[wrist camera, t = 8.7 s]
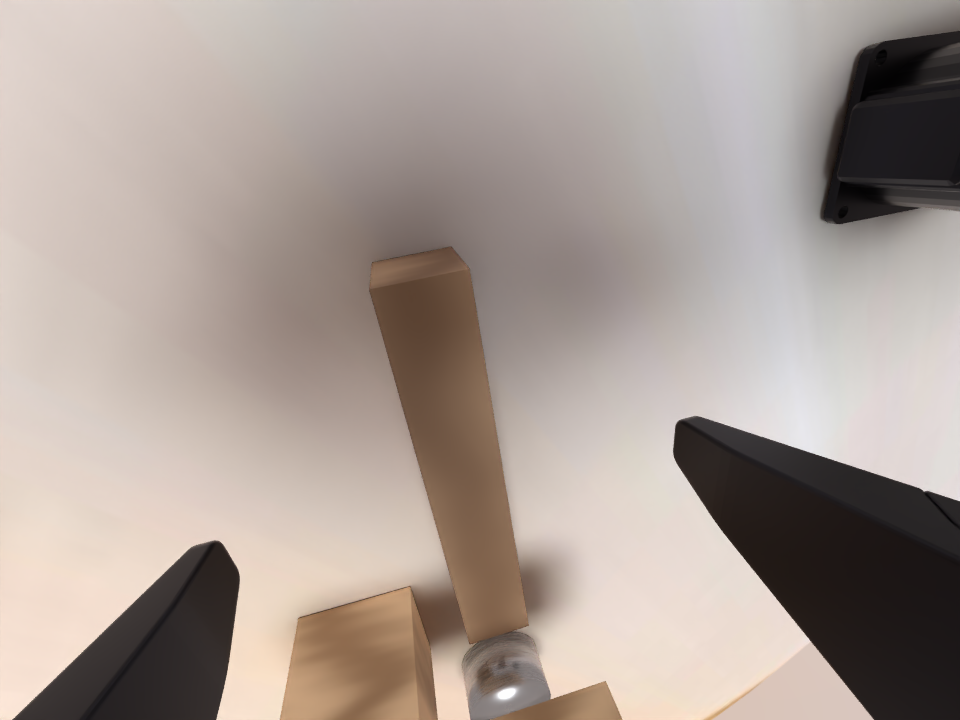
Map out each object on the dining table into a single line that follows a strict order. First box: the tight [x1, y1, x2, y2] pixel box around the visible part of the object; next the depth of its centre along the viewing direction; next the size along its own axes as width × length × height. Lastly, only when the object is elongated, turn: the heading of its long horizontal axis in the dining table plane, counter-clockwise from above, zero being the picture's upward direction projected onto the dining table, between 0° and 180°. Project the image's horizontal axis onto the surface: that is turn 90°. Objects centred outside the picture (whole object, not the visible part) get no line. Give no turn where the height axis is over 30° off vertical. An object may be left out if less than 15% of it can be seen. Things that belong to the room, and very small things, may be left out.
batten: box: [369, 247, 529, 644], centre depth 18 cm, size 3×18×4 cm, turn 8°
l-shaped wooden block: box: [280, 587, 622, 720], centre depth 20 cm, size 14×6×10 cm, turn 97°
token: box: [462, 632, 551, 720], centre depth 26 cm, size 5×5×3 cm
